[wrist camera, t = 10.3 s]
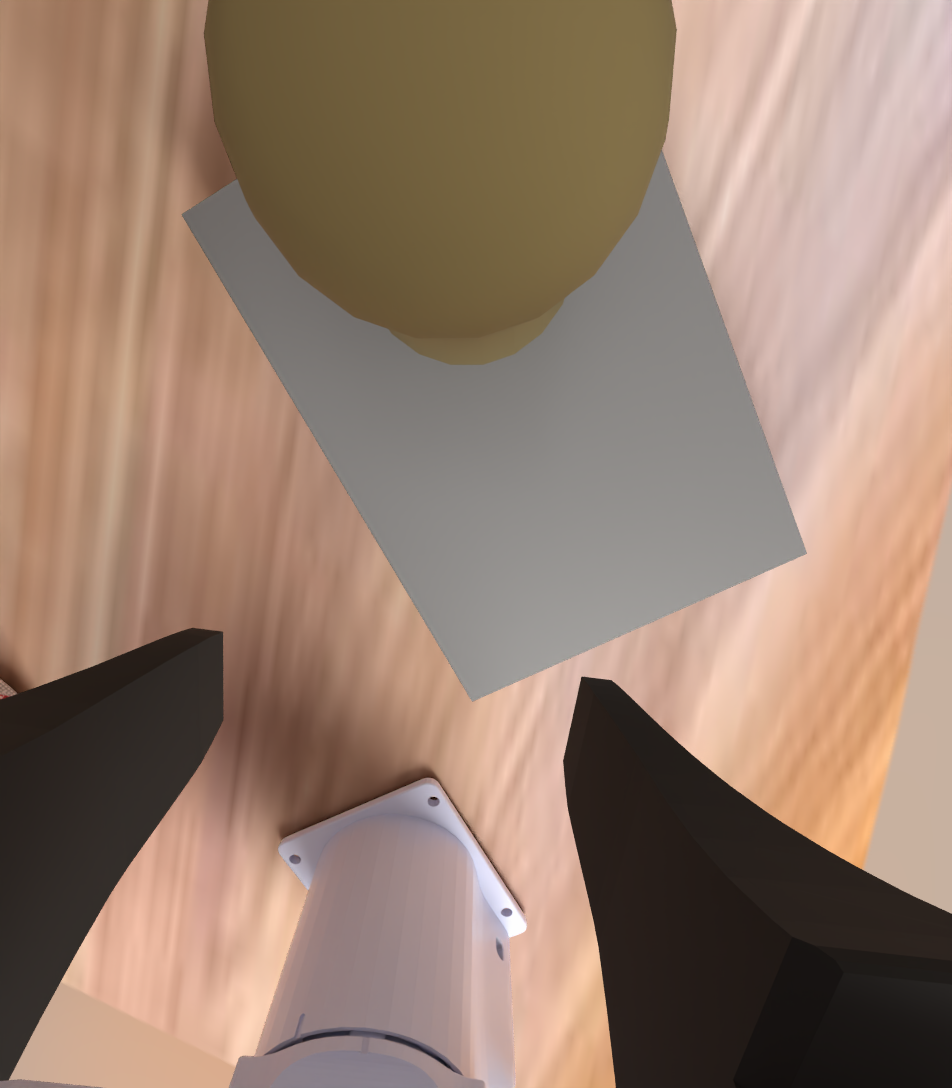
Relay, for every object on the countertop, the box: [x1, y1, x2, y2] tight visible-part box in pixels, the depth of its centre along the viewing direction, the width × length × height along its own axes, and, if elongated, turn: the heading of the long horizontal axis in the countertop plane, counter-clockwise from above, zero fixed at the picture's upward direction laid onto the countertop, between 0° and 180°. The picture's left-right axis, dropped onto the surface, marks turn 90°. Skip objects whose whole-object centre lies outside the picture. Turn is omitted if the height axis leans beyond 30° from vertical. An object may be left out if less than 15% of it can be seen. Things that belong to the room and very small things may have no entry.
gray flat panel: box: [182, 150, 807, 701], centre depth 18 cm, size 17×12×3 cm
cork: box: [204, 0, 677, 365], centre depth 10 cm, size 6×6×11 cm
